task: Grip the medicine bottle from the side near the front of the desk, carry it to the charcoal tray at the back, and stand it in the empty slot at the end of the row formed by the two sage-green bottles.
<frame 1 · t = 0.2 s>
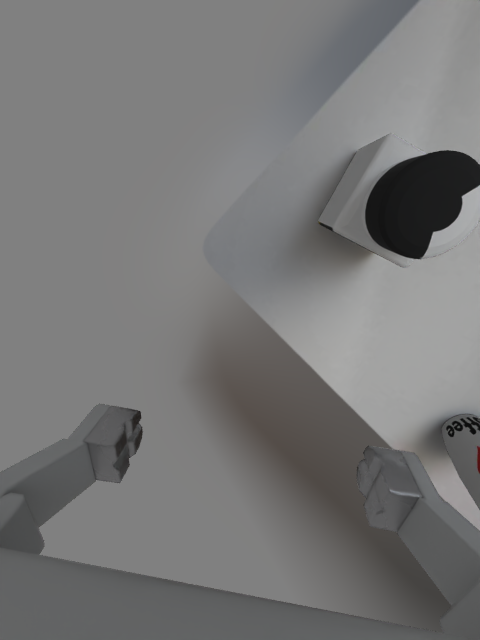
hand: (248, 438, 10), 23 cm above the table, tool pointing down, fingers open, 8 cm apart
medicine bottle: (366, 204, 27), on the table
cup: (460, 427, 37), on the table
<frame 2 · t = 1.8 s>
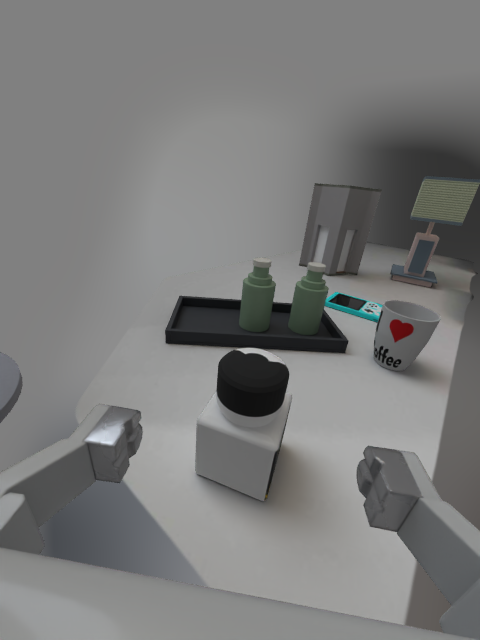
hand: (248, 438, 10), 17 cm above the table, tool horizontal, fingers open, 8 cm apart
grey toy building: (326, 272, 98), on the table
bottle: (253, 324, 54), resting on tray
tray: (253, 327, 54), on the table
medicine bottle: (240, 458, 28), on the table
handheld game console: (358, 310, 68), on the table
cup: (389, 363, 47), on the table
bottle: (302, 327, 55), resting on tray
desk lamp: (410, 279, 101), on the table
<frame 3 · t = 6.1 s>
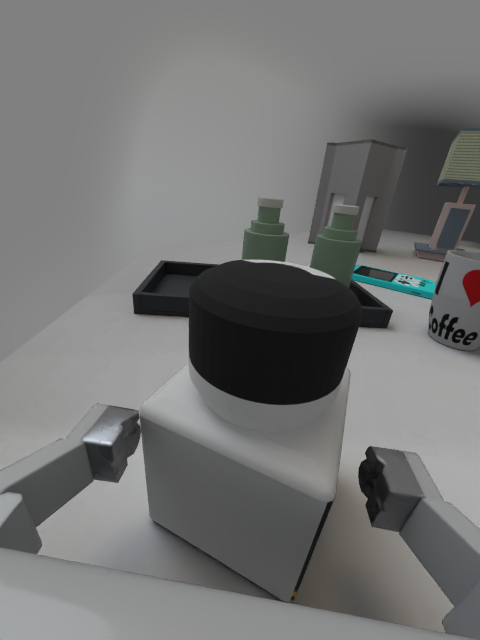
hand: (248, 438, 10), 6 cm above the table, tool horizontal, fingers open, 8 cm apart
grey toy building: (341, 249, 84), on the table
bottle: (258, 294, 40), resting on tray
tray: (258, 297, 40), on the table
medicine bottle: (244, 489, 15), on the table, touching gripper
handheld game console: (389, 283, 54), on the table
cup: (451, 340, 33), on the table
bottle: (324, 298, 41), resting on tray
desk lamp: (437, 257, 87), on the table
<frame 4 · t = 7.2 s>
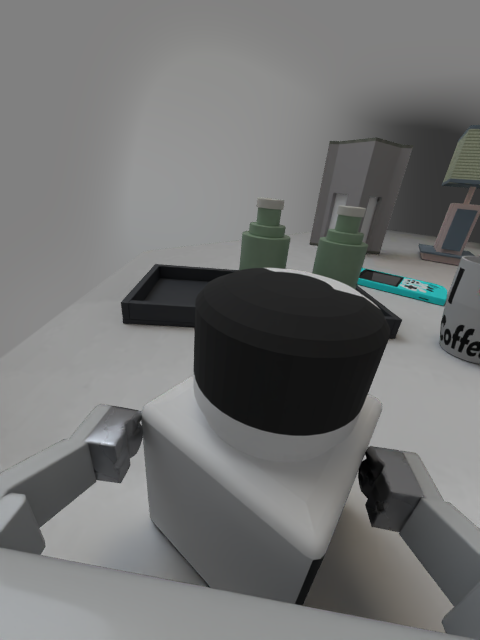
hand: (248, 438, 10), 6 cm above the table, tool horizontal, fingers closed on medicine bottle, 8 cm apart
grey toy building: (343, 251, 82), on the table
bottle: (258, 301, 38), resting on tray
tray: (257, 304, 38), on the table
medicine bottle: (250, 511, 14), on the table, touching gripper
handheld game console: (394, 287, 52), on the table
cup: (464, 353, 31), on the table
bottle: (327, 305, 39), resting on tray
desk lamp: (442, 259, 84), on the table
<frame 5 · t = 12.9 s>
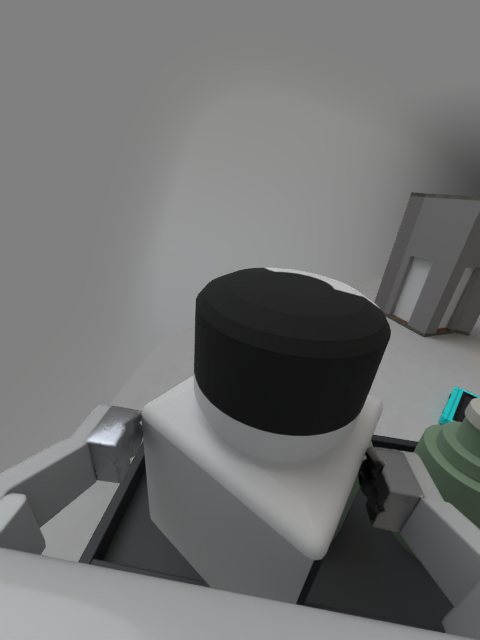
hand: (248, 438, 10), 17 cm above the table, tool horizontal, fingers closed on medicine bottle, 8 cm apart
grey toy building: (418, 328, 64), on the table
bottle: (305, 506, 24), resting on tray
tray: (304, 510, 24), on the table
medicine bottle: (250, 511, 14), point 10 cm above the table, touching gripper
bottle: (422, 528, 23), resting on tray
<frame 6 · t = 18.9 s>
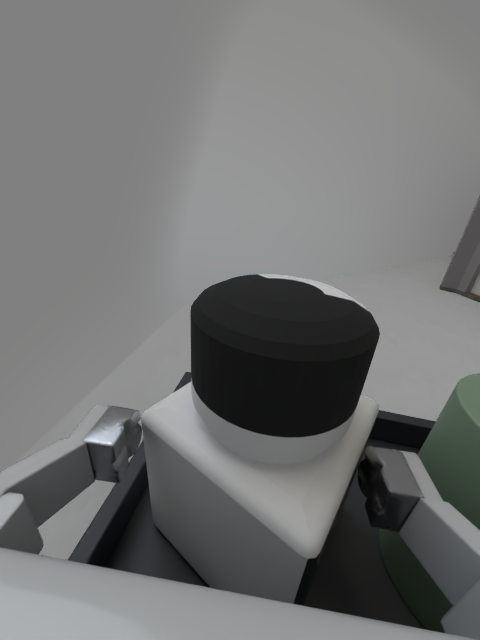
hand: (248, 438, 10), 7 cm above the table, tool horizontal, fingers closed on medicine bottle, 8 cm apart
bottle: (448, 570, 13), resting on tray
tray: (444, 575, 13), on the table
medicine bottle: (252, 515, 14), resting on tray, touching gripper
when the fingers open (8 cm above the table, at t = 19.4 s): medicine bottle stays where it is, resting on tray.
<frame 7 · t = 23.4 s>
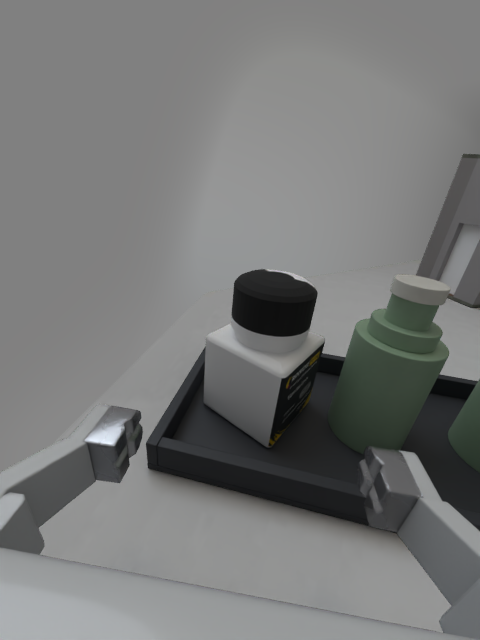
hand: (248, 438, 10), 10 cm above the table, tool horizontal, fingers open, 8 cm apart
grey toy building: (464, 301, 60), on the table
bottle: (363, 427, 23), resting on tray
tray: (361, 431, 24), on the table
medicine bottle: (256, 404, 25), resting on tray
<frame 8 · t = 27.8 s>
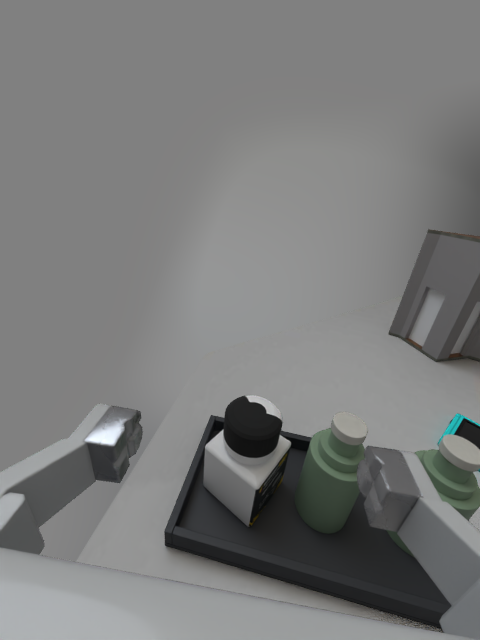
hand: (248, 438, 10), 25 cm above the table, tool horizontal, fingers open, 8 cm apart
grey toy building: (431, 352, 69), on the table
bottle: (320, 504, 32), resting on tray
tray: (319, 507, 32), on the table
medicine bottle: (243, 484, 33), resting on tray
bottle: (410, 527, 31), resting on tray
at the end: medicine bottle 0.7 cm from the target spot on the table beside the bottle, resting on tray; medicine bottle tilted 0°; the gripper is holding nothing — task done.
